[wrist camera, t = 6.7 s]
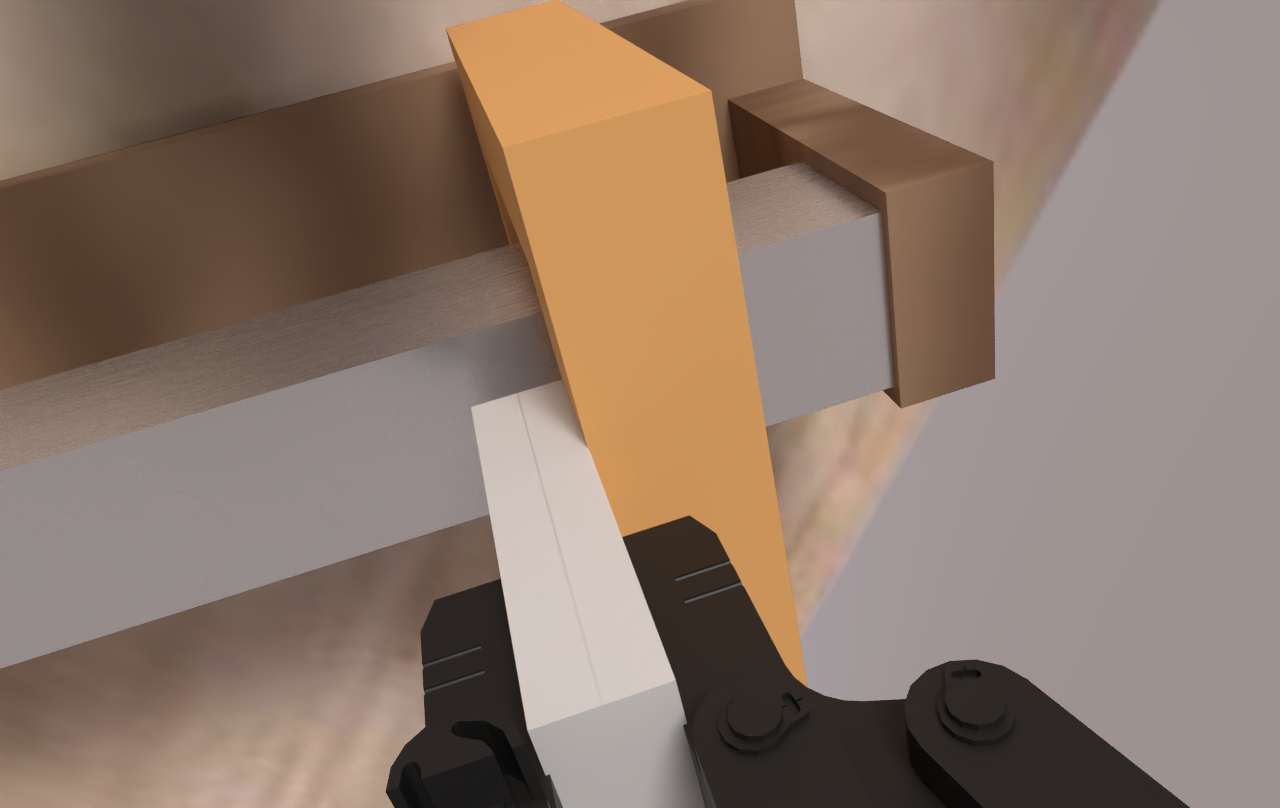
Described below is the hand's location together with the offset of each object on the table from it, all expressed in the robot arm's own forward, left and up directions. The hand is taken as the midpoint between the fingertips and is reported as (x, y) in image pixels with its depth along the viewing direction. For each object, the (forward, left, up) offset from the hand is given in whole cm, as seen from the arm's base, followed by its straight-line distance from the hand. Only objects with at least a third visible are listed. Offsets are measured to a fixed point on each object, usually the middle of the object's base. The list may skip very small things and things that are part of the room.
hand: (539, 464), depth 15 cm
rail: (-4, 0, -5) cm, 6 cm away
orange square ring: (+2, 0, -9) cm, 9 cm away
